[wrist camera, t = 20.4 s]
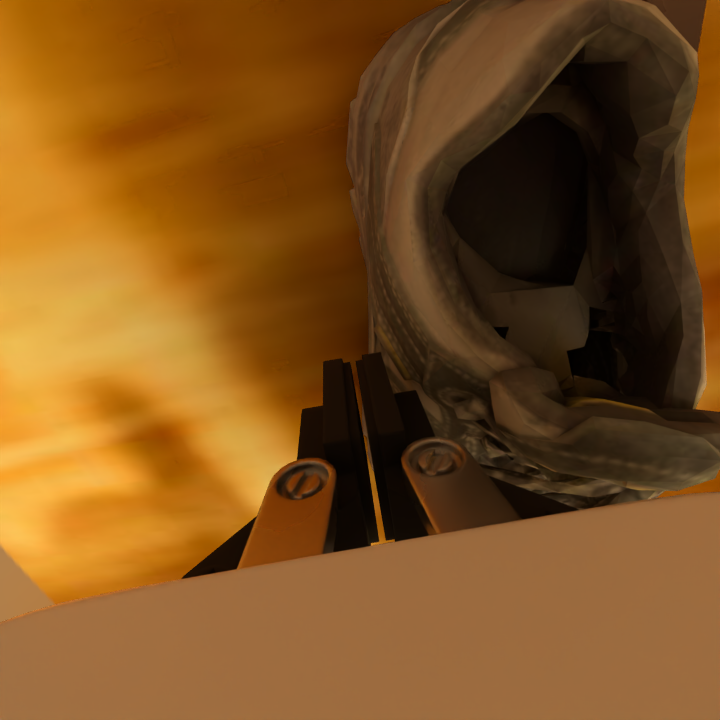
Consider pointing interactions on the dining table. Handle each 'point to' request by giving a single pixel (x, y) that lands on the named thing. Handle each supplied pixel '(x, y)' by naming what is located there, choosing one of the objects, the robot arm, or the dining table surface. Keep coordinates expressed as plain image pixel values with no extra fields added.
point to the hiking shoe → (539, 242)
